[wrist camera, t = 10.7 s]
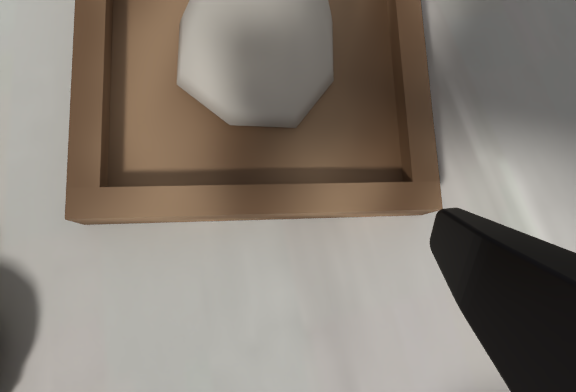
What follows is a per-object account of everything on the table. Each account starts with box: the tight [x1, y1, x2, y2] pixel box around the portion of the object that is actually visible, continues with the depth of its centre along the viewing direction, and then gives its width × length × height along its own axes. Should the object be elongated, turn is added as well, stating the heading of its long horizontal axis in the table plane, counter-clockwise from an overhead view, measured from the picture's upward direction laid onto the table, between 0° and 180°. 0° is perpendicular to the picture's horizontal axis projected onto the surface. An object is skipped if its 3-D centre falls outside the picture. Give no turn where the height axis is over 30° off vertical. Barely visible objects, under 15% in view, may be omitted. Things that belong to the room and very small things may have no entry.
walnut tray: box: [65, 0, 443, 225], centre depth 19 cm, size 15×15×2 cm
